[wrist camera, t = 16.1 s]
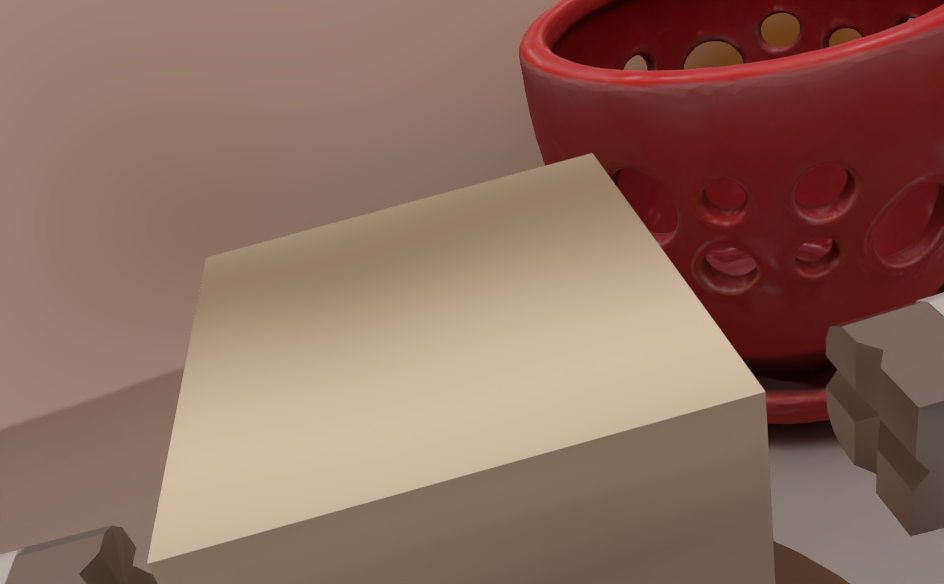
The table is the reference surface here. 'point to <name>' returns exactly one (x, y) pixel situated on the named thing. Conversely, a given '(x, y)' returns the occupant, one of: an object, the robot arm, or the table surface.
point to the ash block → (465, 404)
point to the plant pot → (762, 160)
